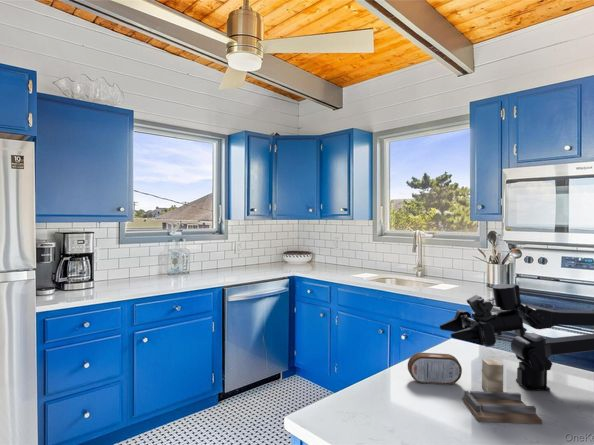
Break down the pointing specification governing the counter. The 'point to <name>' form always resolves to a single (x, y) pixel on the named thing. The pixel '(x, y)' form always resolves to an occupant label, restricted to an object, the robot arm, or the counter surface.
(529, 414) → the track
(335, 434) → the counter surface
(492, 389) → the block
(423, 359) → the tin
